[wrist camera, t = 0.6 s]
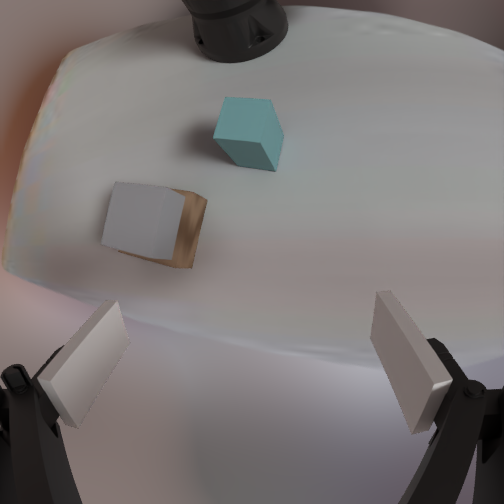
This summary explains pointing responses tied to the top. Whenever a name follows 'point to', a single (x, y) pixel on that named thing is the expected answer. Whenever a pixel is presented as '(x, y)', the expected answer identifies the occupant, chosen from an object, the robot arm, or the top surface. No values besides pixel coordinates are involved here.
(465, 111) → the top surface
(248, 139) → the column block
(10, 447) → the robot arm
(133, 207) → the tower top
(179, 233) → the tower base
